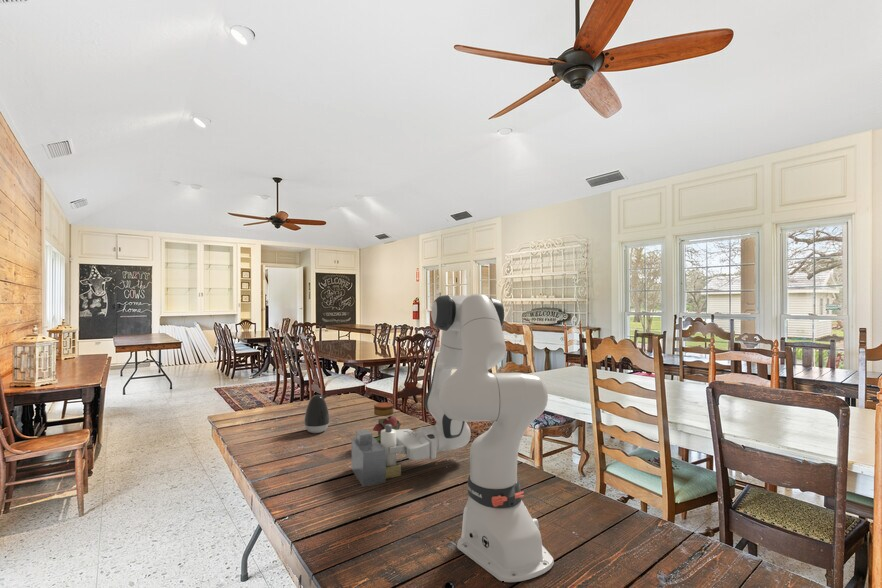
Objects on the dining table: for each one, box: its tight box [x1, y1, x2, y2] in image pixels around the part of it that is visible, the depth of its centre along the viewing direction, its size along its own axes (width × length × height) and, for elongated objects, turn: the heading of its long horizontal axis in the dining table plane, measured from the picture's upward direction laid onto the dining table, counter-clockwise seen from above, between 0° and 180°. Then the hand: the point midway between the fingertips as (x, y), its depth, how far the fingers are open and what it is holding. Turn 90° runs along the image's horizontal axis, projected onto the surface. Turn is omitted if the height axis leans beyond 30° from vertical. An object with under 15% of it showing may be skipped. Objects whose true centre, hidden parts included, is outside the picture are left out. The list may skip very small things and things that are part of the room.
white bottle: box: [381, 424, 397, 467], centre depth 136 cm, size 5×5×14 cm
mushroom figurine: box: [372, 401, 402, 444], centre depth 162 cm, size 12×13×15 cm
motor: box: [351, 428, 402, 488], centre depth 136 cm, size 16×13×13 cm
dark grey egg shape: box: [303, 394, 331, 434], centre depth 176 cm, size 10×10×15 cm
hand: (385, 447), depth 136 cm, fingers closed on white bottle, 5 cm apart
